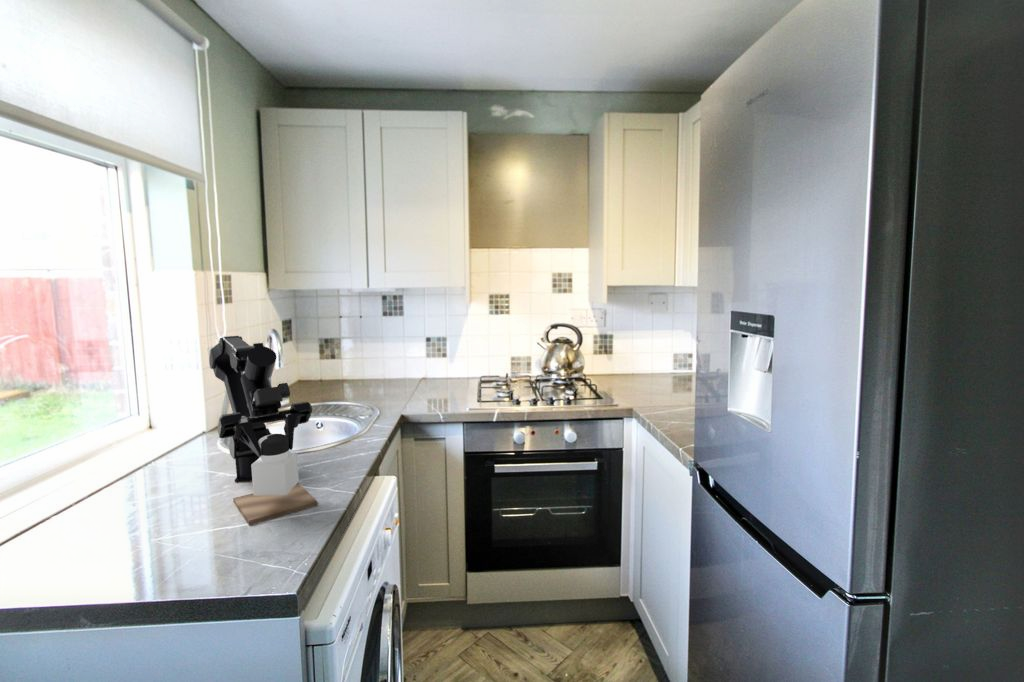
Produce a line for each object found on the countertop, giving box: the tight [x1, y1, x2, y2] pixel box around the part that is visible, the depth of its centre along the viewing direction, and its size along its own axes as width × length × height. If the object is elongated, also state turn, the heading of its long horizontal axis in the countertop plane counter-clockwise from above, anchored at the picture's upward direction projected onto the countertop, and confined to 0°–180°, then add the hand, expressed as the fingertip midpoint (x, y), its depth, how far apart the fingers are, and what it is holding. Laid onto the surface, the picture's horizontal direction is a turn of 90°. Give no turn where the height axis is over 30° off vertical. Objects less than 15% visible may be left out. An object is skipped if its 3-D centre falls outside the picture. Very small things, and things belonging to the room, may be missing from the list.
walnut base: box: [232, 482, 318, 526], centre depth 117 cm, size 14×14×1 cm
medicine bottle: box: [251, 433, 300, 496], centre depth 114 cm, size 7×7×12 cm
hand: (276, 452), depth 112 cm, fingers closed on medicine bottle, 6 cm apart
